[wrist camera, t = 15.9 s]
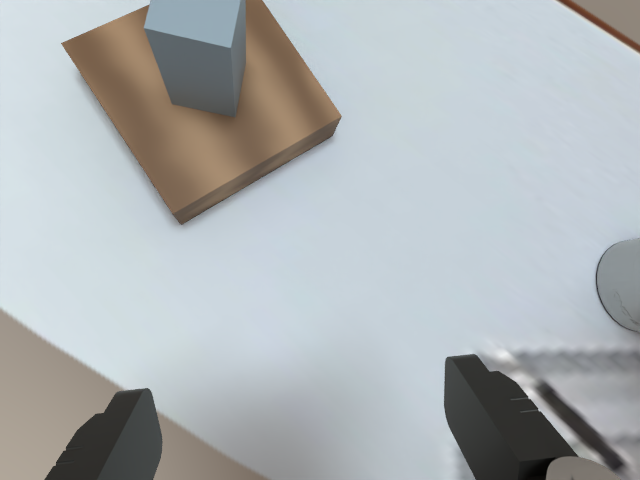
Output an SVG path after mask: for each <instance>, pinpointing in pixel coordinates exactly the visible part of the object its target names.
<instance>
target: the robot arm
mask: <svg viewBox="0 0 640 480" xmlns="http://www.w3.org/2000/svg"><path fill="white" fill-rule="evenodd" d="M597 285H598V291H599V295H600V297H601V300H602V303H603V305H604V306H605V308H606V310H607V311H608V313H609V314H610V315H611V316H612V317H613V319H614V320H616V321H617V322H618V323H619V324H621V325H622V326H624V327H626V328H628V329H630V330H634V331H638V332H640V238H638V239H633V240H627V241H622V242H619V243H617V244H615V245H613V246H612V247H611V248H609V249H608V250H607V251H606V253H605V254H604V255H603V257H602V259H601V261H600V264H599V267H598V272H597ZM444 408H445V414H446V419H447V422H448V425H449V428H450V430H451V432H452V434H453V436H454V438H455V439H456V441H457V443H458V445H459V447H460V449H461V451H462V453H463V455H464V457H465V459H466V461H467V463H468V465H469V467H470V469H471V471H472V473H473V475H474V477H475V479H476V480H621V479H620V478H619V477H618V476H617V475H616V474H614V473H613V472H612V471H610V470H609V469H607V468H606V467H604V466H602V465H600V464H598V463H596V462H594V461H591V460H588V459H585V458H580V457H578V455H577V454H576V453H575V452H574V451H573V449H572V448H571V447H570V446H569V445H568V443H567V442H566V441H565V440H564V439H563V437H562V436H561V435H560V434H559V433H558V432H557V430H556V429H555V428H554V427H553V426H552V424H551V423H550V422H549V421H548V420H547V418H546V417H545V416H544V415H543V414H542V412H539V411H538V408H537V407H536V405H535V404H534V403H533V402H532V401H531V399H528V396H527V395H526V393H525V392H524V391H523V390H522V389H521V388H520V386H519V385H518V384H517V383H516V382H515V381H513V380H512V379H510V378H509V377H507V376H506V375H504V374H502V373H501V372H499V371H493V372H489V370H488V369H487V368H486V367H485V365H484V364H483V363H482V361H481V360H480V359H479V357H478V356H477V355H475V354H470V355H461V356H452V357H447V358H446V361H445V388H444ZM161 453H162V434H161V430H160V425H159V421H158V417H157V413H156V408H155V404H154V400H153V396H152V393H151V391H150V389H148V388H145V389H136V390H126V391H119V392H117V393H116V394H115V395H114V397H113V399H112V400H111V402H110V403H109V405H108V407H107V409H106V410H105V412H104V413H101V414H95V415H94V416H93V417H92V418H91V419H89V420H88V421H87V422H86V423H85V424H84V425H83V426H81V427H80V428H79V429H78V430H77V431H76V433H75V434H74V436H73V437H72V439H71V441H70V442H69V444H68V445H67V447H66V451H63V453H62V454H61V456H60V457H59V459H58V460H57V462H56V466H53V468H52V469H51V471H50V472H49V474H48V475H47V477H46V478H45V480H153V478H154V475H155V472H156V470H157V467H158V464H159V461H160V458H161Z"/></svg>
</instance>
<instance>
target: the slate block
mask: <svg viewBox="0 0 640 480" xmlns="http://www.w3.org/2000/svg"><path fill="white" fill-rule="evenodd" d="M144 30H145V33H146V35H147V38H148V41H149V44H150V46H151V49H152V52H153V54H154V57H155V60H156V62H157V65H158V68H159V71H160V73H161V76H162V79H163V81H164V84H165V87H166V89H167V92H168V95H169V98H170V100H171V103H172V104H174V105H178V106H183V107H188V108H193V109H198V110H202V111H207V112H212V113H217V114H222V115H227V116H231V117H236V112H237V107H238V102H239V96H240V91H241V86H242V81H243V76H244V71H245V66H246V0H151V1H150V5H149V9H148V13H147V17H146V21H145V25H144Z"/></svg>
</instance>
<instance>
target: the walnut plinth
mask: <svg viewBox="0 0 640 480" xmlns="http://www.w3.org/2000/svg"><path fill="white" fill-rule="evenodd" d="M148 9H149V5H148V6H145V7H143V8H141V9H138V10H136V11H134V12H132V13H129V14H127V15H125V16H122V17H120V18H118V19H116V20H113V21H111V22H109V23H106V24H104V25H102V26H100V27H97V28H95V29H93V30H90V31H88V32H86V33H84V34H81V35H79V36H77V37H74V38H72V39H70V40H68V41H65V42H63V43H61V44H62V46H63V47H64V49H65V50H66V52H67V53H68V55H69V56H70V58H71V59H72V61H73V62H74V64H75V65H76V67H77V68H78V70H79V71H80V73H81V75H82V76H83V78H84V79H85V81H86V82H87V84H88V85H89V87H90V88H91V90H92V91H93V93H94V94H95V96H96V97H97V99H98V101H99V102H100V104H101V105H102V107H103V108H104V110H105V111H106V113H107V114H108V116H109V117H110V119H111V120H112V122H113V123H114V125H115V127H116V128H117V130H118V131H119V133H120V134H121V136H122V137H123V139H124V140H125V142H126V143H127V145H128V146H129V148H130V149H131V151H132V152H133V154H134V156H135V157H136V159H137V160H138V162H139V163H140V165H141V166H142V168H143V169H144V171H145V172H146V174H147V175H148V177H149V178H150V180H151V182H152V183H153V185H154V186H155V188H156V189H157V191H158V192H159V194H160V195H161V197H162V198H163V200H164V201H165V203H166V204H167V206H168V207H169V209H170V211H171V212H172V214H173V215H174V216H175V217H176V219H177V220H178V221H179V223H180V224H183V223H185V222H187V221H188V220H190V219H192V218H193V217H195V216H197V215H198V214H200V213H202V212H204V211H205V210H207V209H209V208H210V207H212V206H214V205H215V204H217V203H219V202H221V201H222V200H224V199H226V198H227V197H229V196H231V195H232V194H234V193H236V192H238V191H239V190H241V189H243V188H244V187H246V186H248V185H249V184H251V183H253V182H255V181H256V180H258V179H260V178H261V177H263V176H265V175H267V174H268V173H270V172H272V171H273V170H275V169H277V168H278V167H280V166H282V165H284V164H285V163H287V162H289V161H290V160H292V159H294V158H295V157H297V156H299V155H301V154H302V153H304V152H306V151H307V150H309V149H311V148H312V147H314V146H316V145H318V144H319V143H321V142H323V141H324V140H326V139H328V138H329V137H331V136H333V134H334V131H335V129H336V127H337V125H338V123H339V121H340V119H341V117H342V116H341V114H340V113H339V111H338V110H337V108H336V107H335V105H334V104H333V103H332V101H331V100H330V98H329V97H328V95H327V94H326V92H325V91H324V89H323V88H322V87H321V85H320V84H319V82H318V81H317V79H316V78H315V76H314V75H313V73H312V72H311V71H310V69H309V68H308V66H307V65H306V63H305V62H304V60H303V59H302V57H301V56H300V55H299V53H298V52H297V50H296V49H295V47H294V46H293V44H292V43H291V41H290V40H289V38H288V37H287V36H286V34H285V33H284V31H283V30H282V28H281V27H280V25H279V24H278V22H277V21H276V20H275V18H274V17H273V15H272V14H271V12H270V11H269V9H268V8H267V6H266V5H265V4H264V2H263V1H262V0H246V66H245V71H244V76H243V81H242V86H241V91H240V96H239V102H238V107H237V112H236V117H231V116H227V115H222V114H217V113H212V112H207V111H202V110H198V109H193V108H188V107H183V106H178V105H174V104H172V103H171V100H170V98H169V95H168V92H167V89H166V87H165V84H164V81H163V79H162V76H161V73H160V71H159V68H158V65H157V62H156V60H155V57H154V54H153V52H152V49H151V46H150V44H149V41H148V38H147V35H146V33H145V30H144V25H145V21H146V17H147V13H148Z"/></svg>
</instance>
